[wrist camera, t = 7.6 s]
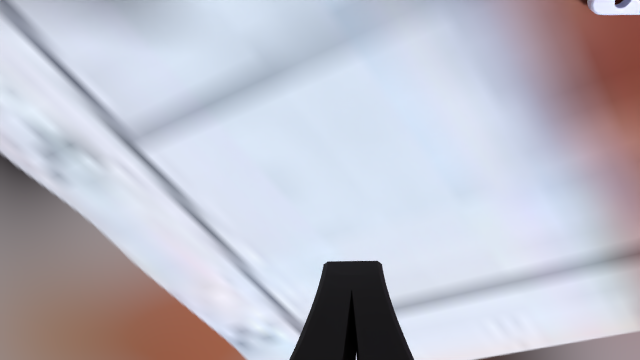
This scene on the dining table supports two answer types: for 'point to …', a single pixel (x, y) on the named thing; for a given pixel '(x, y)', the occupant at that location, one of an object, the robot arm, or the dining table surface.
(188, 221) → the dining table surface
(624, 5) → the robot arm
